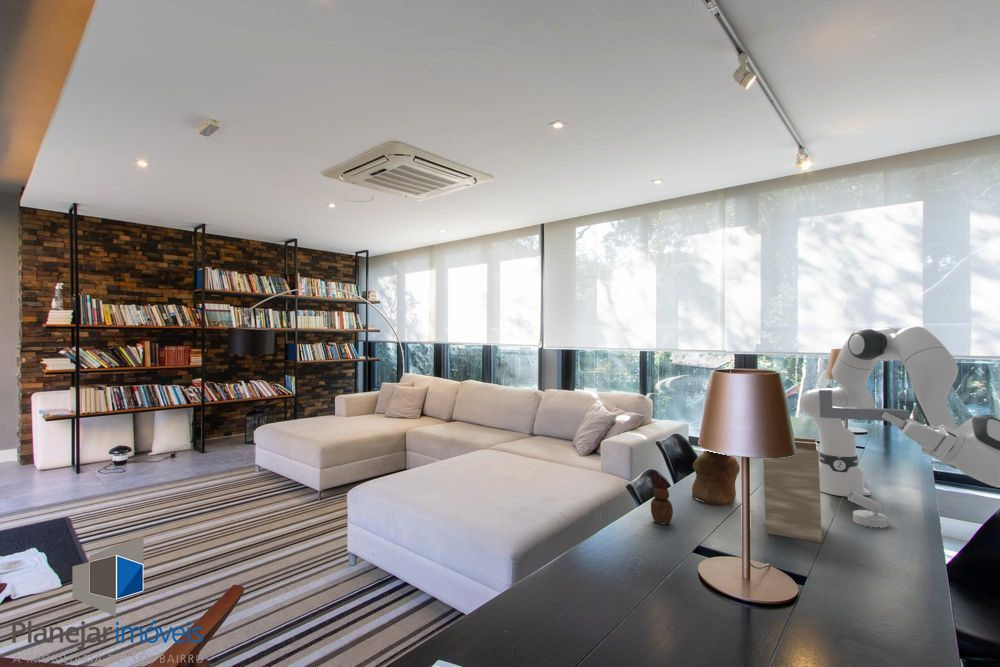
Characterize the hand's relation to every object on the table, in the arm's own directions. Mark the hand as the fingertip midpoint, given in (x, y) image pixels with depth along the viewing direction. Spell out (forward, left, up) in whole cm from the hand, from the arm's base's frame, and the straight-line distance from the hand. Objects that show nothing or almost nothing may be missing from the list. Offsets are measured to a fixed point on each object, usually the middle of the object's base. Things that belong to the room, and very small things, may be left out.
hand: (881, 412), depth 132 cm
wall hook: (-20, -2, -37) cm, 42 cm away
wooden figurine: (+10, -58, -37) cm, 70 cm away
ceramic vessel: (-19, -45, -37) cm, 62 cm away
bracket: (0, -4, -2) cm, 5 cm away
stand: (-3, -22, -37) cm, 43 cm away
